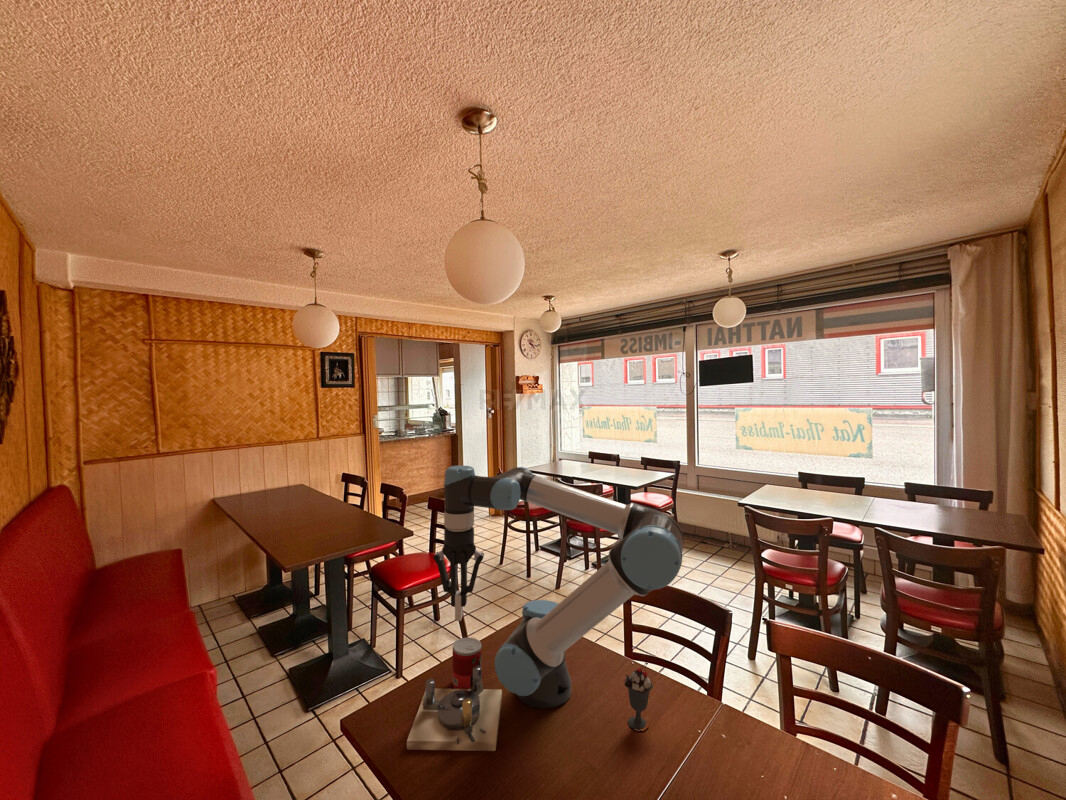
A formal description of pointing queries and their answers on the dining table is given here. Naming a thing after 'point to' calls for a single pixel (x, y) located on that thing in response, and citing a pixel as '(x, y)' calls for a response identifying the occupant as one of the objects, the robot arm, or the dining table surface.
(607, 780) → the dining table surface
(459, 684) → the canned food
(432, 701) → the cam capstan
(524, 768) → the dining table surface
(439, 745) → the stand
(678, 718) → the dining table surface
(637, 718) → the sundae
